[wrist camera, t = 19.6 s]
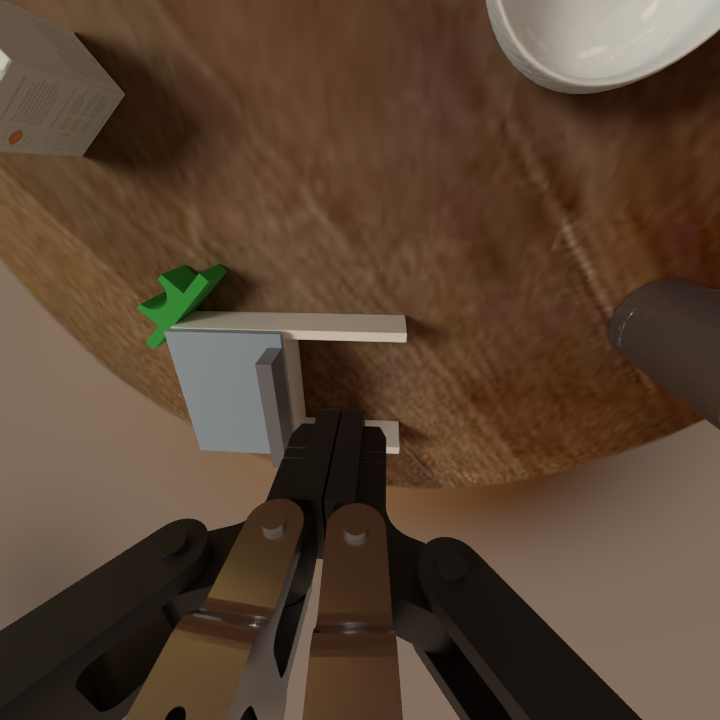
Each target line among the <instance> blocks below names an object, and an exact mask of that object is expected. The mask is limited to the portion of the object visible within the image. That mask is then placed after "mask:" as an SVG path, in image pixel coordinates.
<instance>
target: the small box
mask: <svg viewBox="0 0 720 720" xmlns="http://www.w3.org/2000/svg"><path fill="white" fill-rule="evenodd" d="M124 96H125V93H124V92H123V91H122V90H121V89H120V87H119V86H118V85H117V84H116V83H115V82H114V80H113V79H112V78H111V77H110V76H109V74H108V73H107V72H106V71H105V70H104V69H103V67H102V66H101V65H100V64H99V63H98V62H97V60H96V59H95V58H94V57H93V56H92V54H91V53H90V52H89V51H88V50H87V49H86V47H85V46H84V45H83V44H82V43H81V41H80V40H79V39H78V38H77V37H76V36H75V34H74V33H73V32H72V31H71V30H69V29H67V28H65V27H62V26H60V25H58V24H56V23H54V22H51V21H49V20H47V19H45V18H43V17H40V16H38V15H36V14H34V13H31V12H29V11H27V10H25V9H22V8H20V7H18V6H16V5H13V4H11V3H9V2H7V1H4V0H0V152H10V153H27V154H44V155H61V156H78V157H82V156H83V155H84V153H85V152H86V150H87V149H88V148H89V146H90V145H91V143H92V142H93V140H94V139H95V138H96V136H97V135H98V133H99V132H100V130H101V129H102V127H103V126H104V125H105V123H106V122H107V120H108V119H109V118H110V116H111V115H112V113H113V112H114V110H115V109H116V107H117V106H118V104H119V103H120V102H121V100H122V99H123V97H124Z"/></svg>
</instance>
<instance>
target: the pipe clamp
mask: <svg viewBox="0 0 720 720" xmlns="http://www.w3.org/2000/svg"><path fill="white" fill-rule="evenodd" d="M226 272H227V270H226V269H224V268H223V267H222V266H221V265H220V264H218V265H215V266H213V267H211V268H209V269H207V270H205V271H203V272H201V273H199V274H198V275H196V274H195V273H193V272H192V271H191V270H190V269H189V268H188V267H187V266H185V265H184V266H181V267H179V268H176V269H174V270H172V271H169V272H167V273H164V274H162V275H161V276H160V277H159V279H158V281H159V282H160V283H161V284H162V285H163V287H164V288H165V291H166V292H164V293H162V294H160V295H158V296H156V297H154V298H152V299H150V300H148V301H146V302H144V303H142V304H140V305H139V307H138V308H137V309H138V310H139V311H141V312H142V313H143V314H144V315H146V316H147V317H148V318H149V319H151V320H152V321H153V322H154V323H156V324H157V325H158V327H157V329H156V330H155V331H154V332H153V334H152V335H151V336H150V338H149V339H148V340H147V341H146V343H147V344H148V345H149V346H151V347H152V348H153V349H156V348H157V347H158V346H160V345H161V344H163V343H164V342H165V341H167V340H166V336H165V333H164V331H165V330H167V329H168V328H171V327H172V326H173V325H175V324H176V323H178V322H179V321H181V320H182V319H184V318H185V317H187V316H188V315H190V314H191V313H193V312H194V311H195V310H196V309H197V308H198V307H199V305H200V304H201V303H202V302H203V301H204V299H205V298H206V297H207V296H208V294H209V293H210V292H211V291H212V290H213V288H214V287H215V286H216V285H217V283H218V282H219V281H220V280H221V279H222V277H223V276H224V275H225V274H226Z"/></svg>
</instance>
